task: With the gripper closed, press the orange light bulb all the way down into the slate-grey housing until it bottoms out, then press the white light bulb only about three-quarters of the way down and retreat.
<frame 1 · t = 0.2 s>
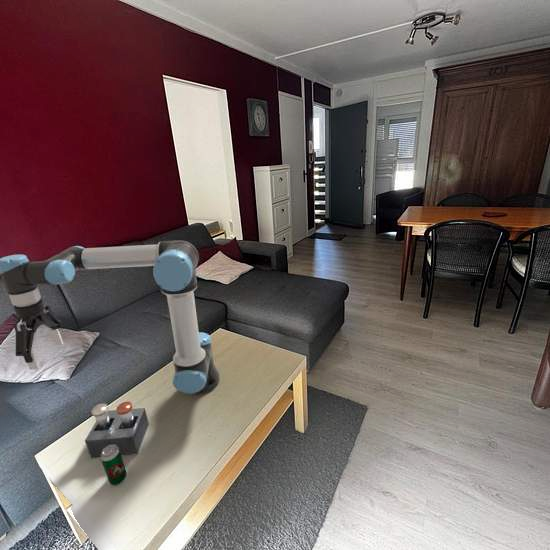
hand: (47, 355, 106), 28 cm above the table, fingers open, 13 cm apart
housing: (121, 440, 106), on the table
orange light bulb: (126, 415, 102), point 11 cm above the table, slide at 0.0 cm
white light bulb: (102, 417, 101), point 11 cm above the table, slide at 0.0 cm
soda can: (118, 478, 93), on the table
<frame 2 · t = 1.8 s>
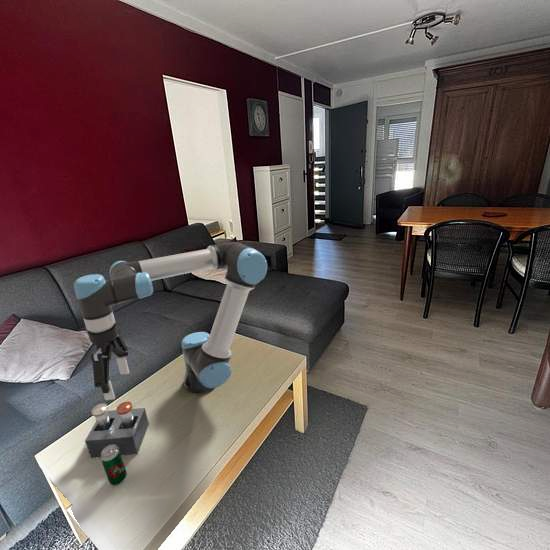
hand: (118, 385, 97), 24 cm above the table, fingers open, 11 cm apart
nothing on the table moved.
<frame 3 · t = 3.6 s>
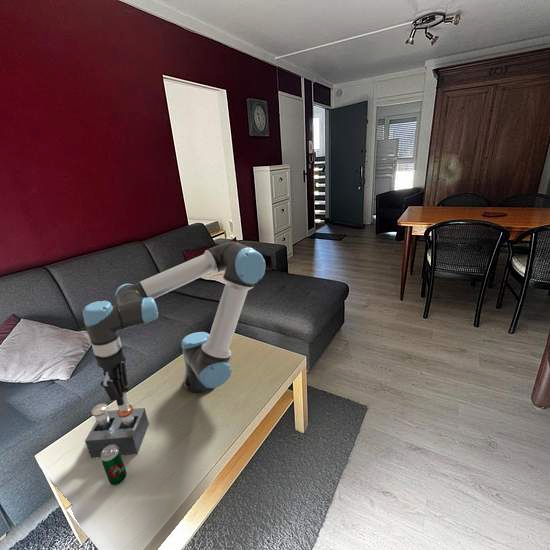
hand: (124, 409, 101), 14 cm above the table, fingers closed
orange light bulb: (127, 418, 102), point 10 cm above the table, slide at 1.3 cm, touching gripper
everything else where it was.
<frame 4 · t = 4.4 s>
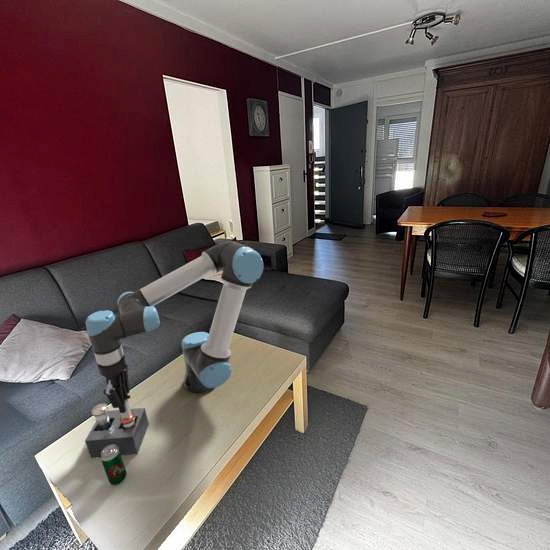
hand: (126, 416, 102), 11 cm above the table, fingers closed
orange light bulb: (129, 425, 104), point 7 cm above the table, slide at 4.5 cm, touching gripper
everything else where it was.
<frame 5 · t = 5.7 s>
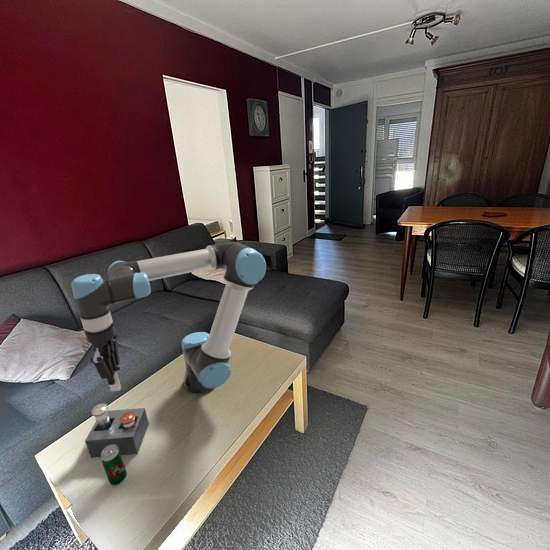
hand: (116, 389, 97), 23 cm above the table, fingers closed
orange light bulb: (129, 425, 104), point 6 cm above the table, slide at 4.5 cm
everything else where it was.
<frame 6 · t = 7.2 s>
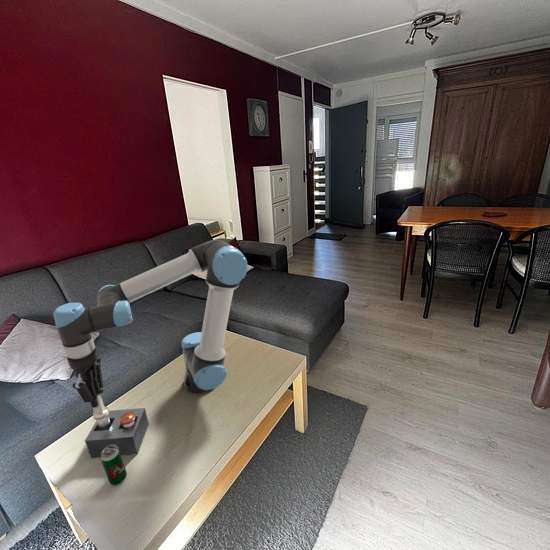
hand: (99, 411, 100), 14 cm above the table, fingers closed
white light bulb: (103, 420, 102), point 10 cm above the table, slide at 1.3 cm, touching gripper
everything else where it was.
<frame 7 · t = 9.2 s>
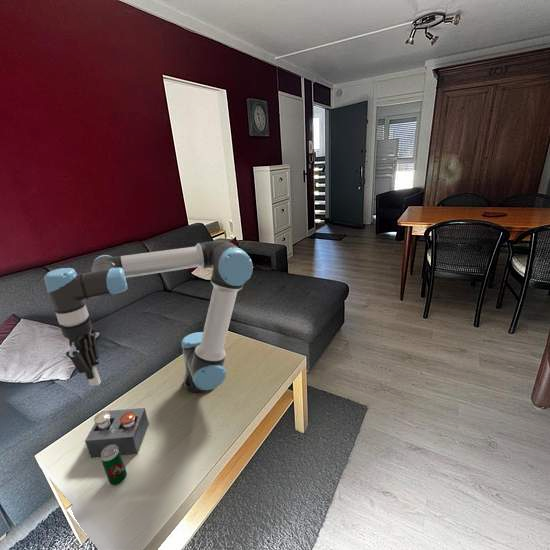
hand: (95, 383, 97), 24 cm above the table, fingers closed
white light bulb: (104, 425, 103), point 8 cm above the table, slide at 3.5 cm
everything else where it was.
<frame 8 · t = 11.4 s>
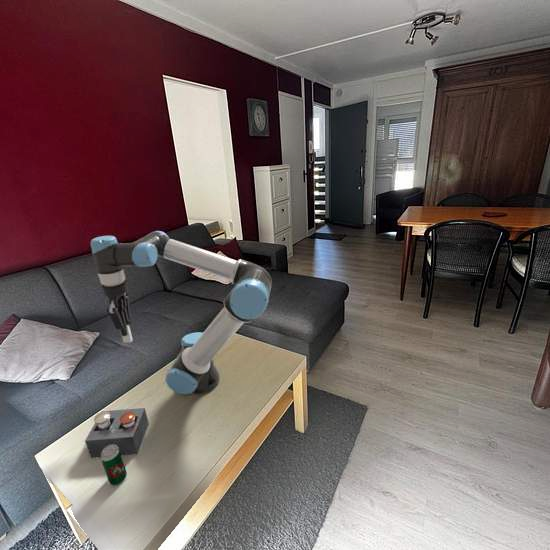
hand: (128, 341, 111), 29 cm above the table, fingers closed
nothing on the table moved.
at the end: orange light bulb slide at 4.5 cm; white light bulb slide at 3.5 cm; white light bulb touching nothing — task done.
